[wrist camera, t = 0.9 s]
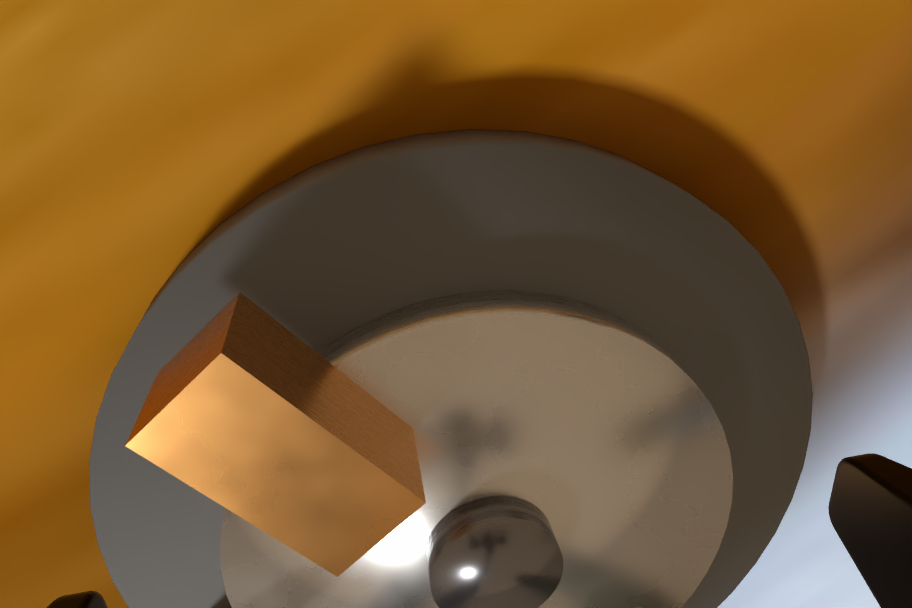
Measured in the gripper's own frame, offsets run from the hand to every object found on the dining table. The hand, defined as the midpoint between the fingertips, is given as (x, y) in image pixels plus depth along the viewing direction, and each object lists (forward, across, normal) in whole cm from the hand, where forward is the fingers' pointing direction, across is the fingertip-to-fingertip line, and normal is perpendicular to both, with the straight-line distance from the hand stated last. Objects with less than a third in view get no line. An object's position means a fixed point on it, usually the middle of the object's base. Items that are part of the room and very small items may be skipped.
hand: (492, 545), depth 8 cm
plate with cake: (+11, 0, +9) cm, 14 cm away
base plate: (+13, -1, +10) cm, 17 cm away
